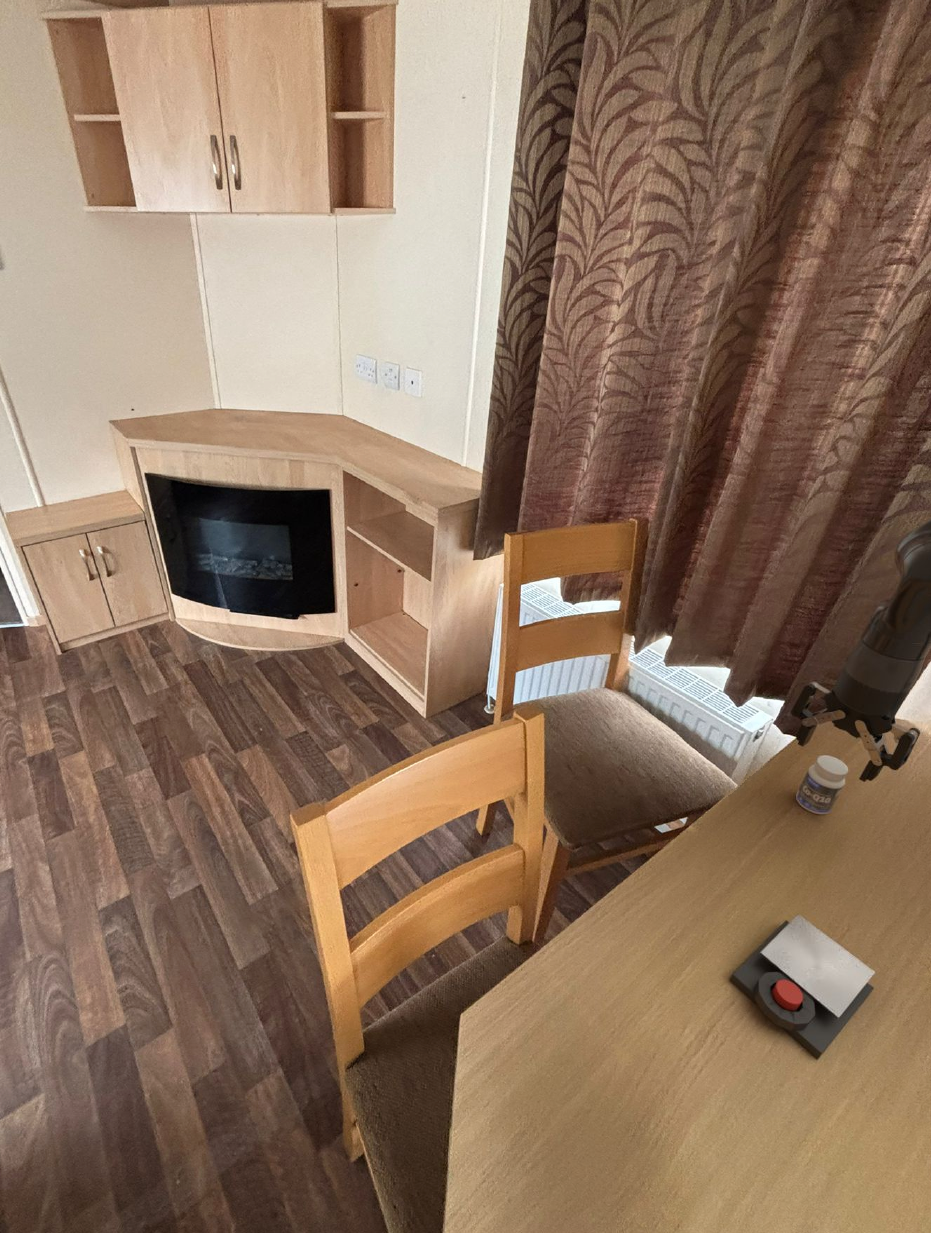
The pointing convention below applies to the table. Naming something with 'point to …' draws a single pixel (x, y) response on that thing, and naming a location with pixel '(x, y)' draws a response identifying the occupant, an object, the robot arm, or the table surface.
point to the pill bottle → (822, 785)
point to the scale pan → (818, 965)
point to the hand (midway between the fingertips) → (832, 760)
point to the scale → (809, 1019)
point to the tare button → (787, 995)
